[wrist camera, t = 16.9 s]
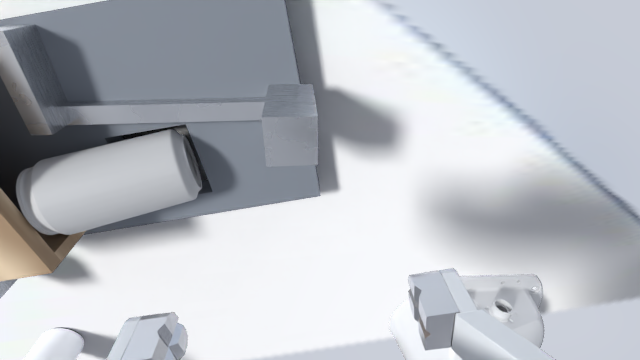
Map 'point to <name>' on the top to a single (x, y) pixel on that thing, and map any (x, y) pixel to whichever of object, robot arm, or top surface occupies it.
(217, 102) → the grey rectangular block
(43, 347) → the drinking glass
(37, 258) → the cubby
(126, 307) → the top surface
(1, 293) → the mallet
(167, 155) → the beverage can
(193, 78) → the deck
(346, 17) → the top surface
